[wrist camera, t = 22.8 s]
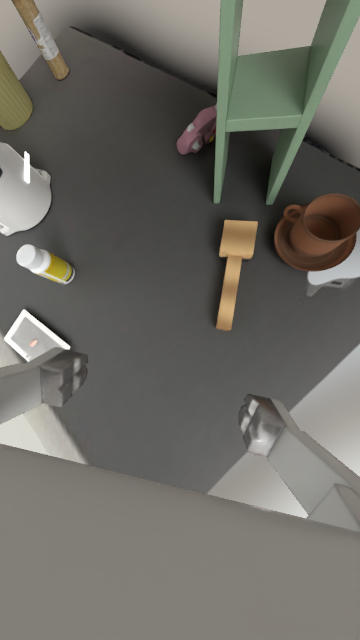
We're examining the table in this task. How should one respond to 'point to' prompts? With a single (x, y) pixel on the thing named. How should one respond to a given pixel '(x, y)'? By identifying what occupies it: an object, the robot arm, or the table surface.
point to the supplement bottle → (45, 264)
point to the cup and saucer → (318, 232)
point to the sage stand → (275, 86)
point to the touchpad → (32, 337)
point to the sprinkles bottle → (42, 37)
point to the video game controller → (198, 131)
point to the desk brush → (234, 264)
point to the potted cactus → (12, 99)
